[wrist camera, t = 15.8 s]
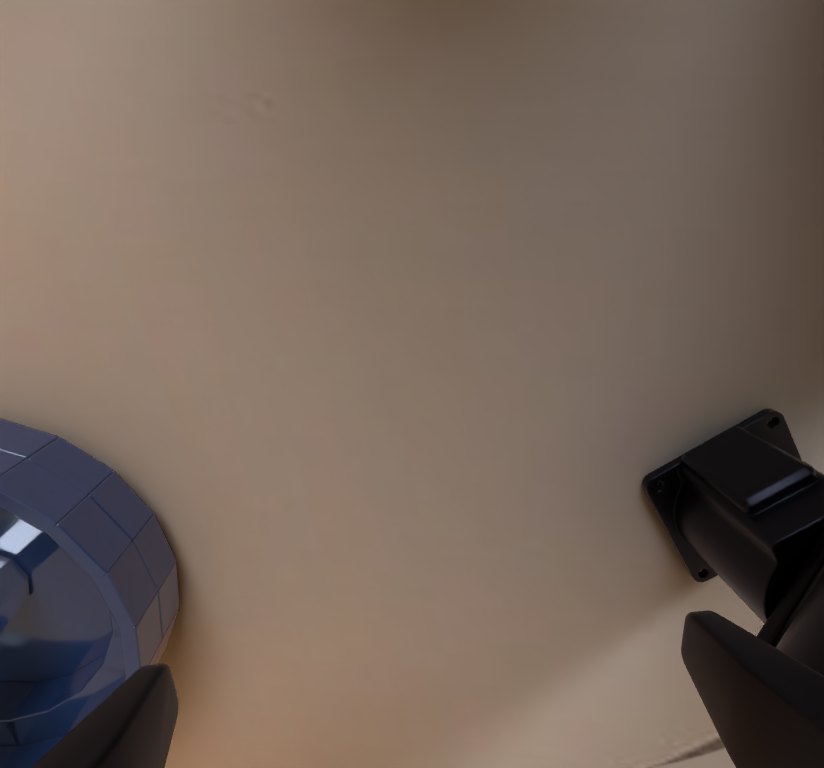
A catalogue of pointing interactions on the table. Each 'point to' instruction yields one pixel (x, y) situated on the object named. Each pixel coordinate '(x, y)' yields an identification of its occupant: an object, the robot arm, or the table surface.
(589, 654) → the table surface
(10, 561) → the milkshake
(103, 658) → the bowl
